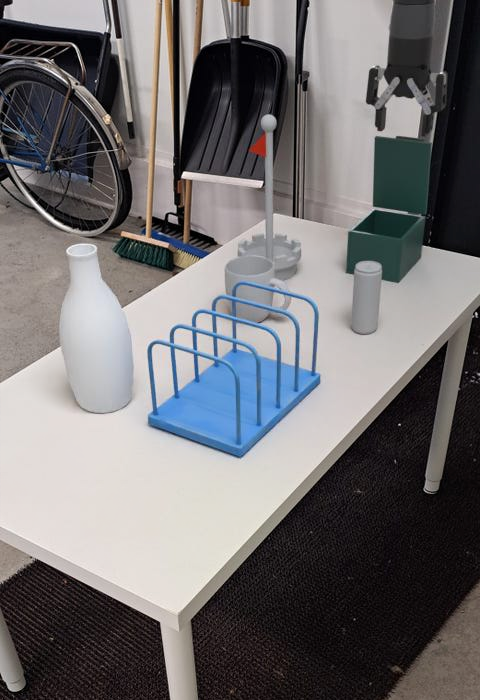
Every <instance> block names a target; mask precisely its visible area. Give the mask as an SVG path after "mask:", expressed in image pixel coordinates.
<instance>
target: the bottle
mask: <svg viewBox="0 0 480 700" xmlns="http://www.w3.org/2000/svg"><path fill="white" fill-rule="evenodd" d="M65 255H66V256H67V260H68V267H69V276H70V283H69V286H68V288H67V291H66V293H65V297H64V299H63V300H62V304H61V307H60V308H61V309H60V315H59V322H58V324H59V325H58V326H59V328H58V330H59V331H58V333H59V345H60V349H61V353H62V359H63V362H64V366H65V370H66V375H67V378H68V380H69V383H70V384H69V385H70V386H71V389H72V391H73V395H74V397H75V400H76V402H77V404H78V405H79V406H80V407H81V408H82V409H83V410H85V411H87V412H88V413H89V412H90V413H95V414H108V413H113V412H116V411H120V410H121V409H123V408H124V407H126V406H127V405H128V404H129V402H130V401H131V400H132V398H133V393H134V390H133V389H134V356H133V355H134V354H133V341H132V334H131V330H130V326H129V324H128V320H127V317H126V314H125V312H124V310H123V307H122V305H121V303H120V302H119V299H118V297H117V296H116V295H115V293H114V292H113V291H112V290H111V288H110V287H109V286H108V284H107V283H106V282H105V280H103V278H102V274H101V269H100V263H99V259H98V247H97V246H96V245H95V244H92V243H76V244H73V245H71V246H69V247H68V248H66V249H65Z"/></svg>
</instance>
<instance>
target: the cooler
mask: <svg viewBox="0 0 480 700" xmlns="http://www.w3.org/2000/svg"><path fill="white" fill-rule="evenodd" d="M426 219H427V218H426V215H420V214H417V215H416V214H413V213H407V212H401V211H394V210H388V209H381V208H375V207H373V208H372V209H370V210H369V212H367V213H366V214H365V215H364V216H363V217H362V218H361V219H360V220H359V221H358V222H356V223H355V224H354V225H353V226H352V227H351V228H350V229H349V230H348V231H347V244H346V245H347V246H346V265H345V273H346V274H350V275H354V270H355V268H356V267H355V266H356V264H357V263H359V262H362V261H374V262H378V263H380V264H381V266H382V268H381V269H382V280H381V281H386V282H393V283H397V284H399V283H400V282H401V281H402V280H403V279H404V278H405V277H406V275H407V274H408V273H409V272H410V271H411V270H412V269H413V267H415V265H416V264H417V263H418V262H419V261H420V259H421V258H422V253H423V252H422V251H423V244H424V235H425V225H426Z"/></svg>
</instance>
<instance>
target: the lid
mask: <svg viewBox="0 0 480 700" xmlns="http://www.w3.org/2000/svg"><path fill="white" fill-rule="evenodd" d="M373 143H374V146H373V148H374V149H373V177H372V178H373V179H372V180H373V181H372V185H373V187H372V207H373V208H377V209H383V210H390V211H396V212H402V213H409V214H415V215H416V214H417V215H422V216H426V215H427V212H428V198H429V186H430V173H431V159H432V145H433V143H432V142H430V141H425V139H424V138H422V137H414V136H403V135H395V137H390V136H381V135H375V136H374V142H373Z"/></svg>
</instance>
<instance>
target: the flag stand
mask: <svg viewBox="0 0 480 700" xmlns="http://www.w3.org/2000/svg"><path fill="white" fill-rule="evenodd" d="M260 127H261V129H262V130H263V134H262V136H260V137H259V139H257V141H256V142H255V143H254V144H253V145H252V146H251V147H250V148H249V149H248V152H251V153H253V154H255V155H259V156H261V157H264V199H265V200H264V201H265V202H264V206H265V208H264V209H265V213H264V215H265V218H264V219H265V233H264V232H262V233H256V234H252V235H251V240H250V241H248V239H246V238H242V239H241V240H240V241H238V242H237V252H236V253H237V257H241V256H260V257H264V258H267V259H269V260H271V261H272V262H273V264H274V274H275V279H279V280H281V281H285V280H288V279H291V278H292V277H293V276H295V274H296V273H297V264H298V263H299V262H300V261H301V259H302V242H301V240H299V239H298V238H297V237H294V238H291V240H289V239H288V234H285V233H278V232H275V233H274V130H275V129H276V128H277V119H276V117H275V116H274V115H272V114H271V113H269V114H265V115H264V116H263V117H262V118H261V120H260Z"/></svg>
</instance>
